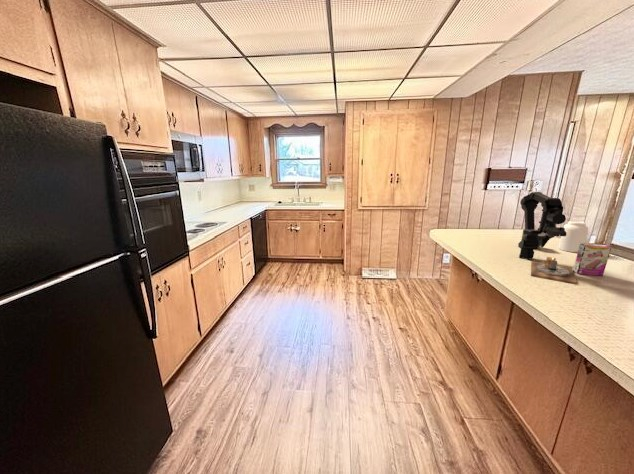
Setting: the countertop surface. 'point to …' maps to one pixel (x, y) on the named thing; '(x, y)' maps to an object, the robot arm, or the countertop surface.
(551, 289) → the countertop surface
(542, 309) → the countertop surface
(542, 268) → the flange plate
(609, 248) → the candy bar box
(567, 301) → the countertop surface
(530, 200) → the robot arm
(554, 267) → the post
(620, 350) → the countertop surface
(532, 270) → the walnut board
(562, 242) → the white container
